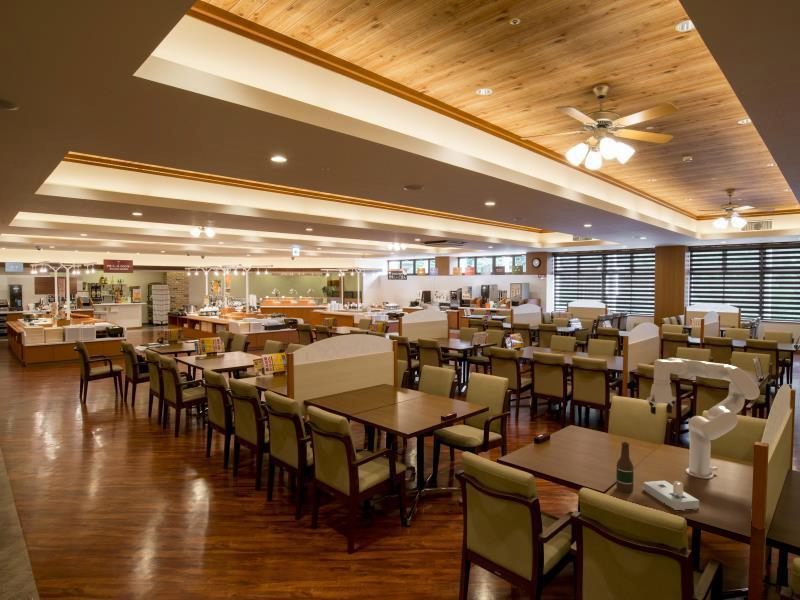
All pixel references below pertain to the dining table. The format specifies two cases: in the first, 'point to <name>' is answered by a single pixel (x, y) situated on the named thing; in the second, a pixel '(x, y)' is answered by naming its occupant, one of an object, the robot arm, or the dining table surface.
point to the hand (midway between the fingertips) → (661, 413)
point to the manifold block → (670, 495)
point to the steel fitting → (677, 489)
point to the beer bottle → (624, 470)
